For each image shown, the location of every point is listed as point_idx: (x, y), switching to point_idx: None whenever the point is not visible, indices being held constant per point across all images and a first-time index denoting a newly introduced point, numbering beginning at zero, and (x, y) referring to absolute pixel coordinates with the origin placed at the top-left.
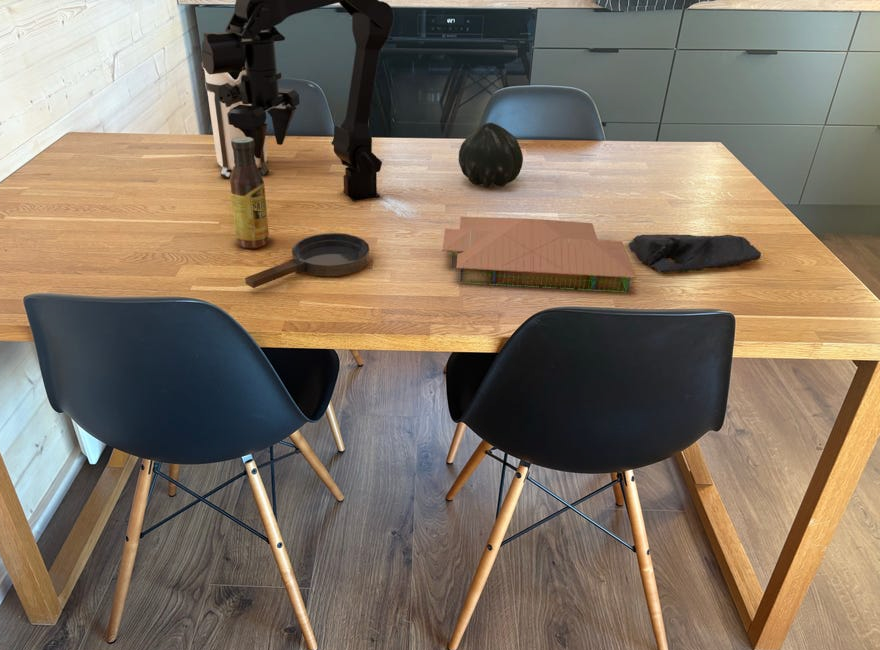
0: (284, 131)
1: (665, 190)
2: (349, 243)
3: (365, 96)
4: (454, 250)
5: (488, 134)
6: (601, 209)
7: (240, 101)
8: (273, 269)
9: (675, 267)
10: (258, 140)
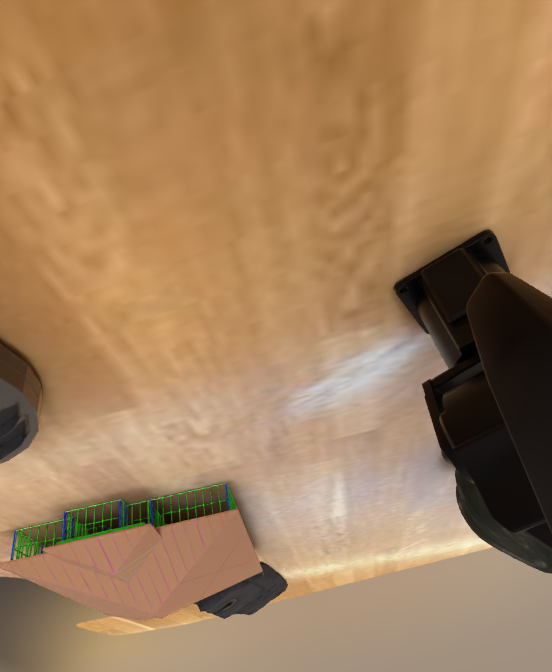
0: (518, 444)
1: (430, 539)
2: (20, 407)
3: None
4: (54, 556)
5: (526, 556)
6: (364, 529)
7: None
8: None
9: None
10: None
